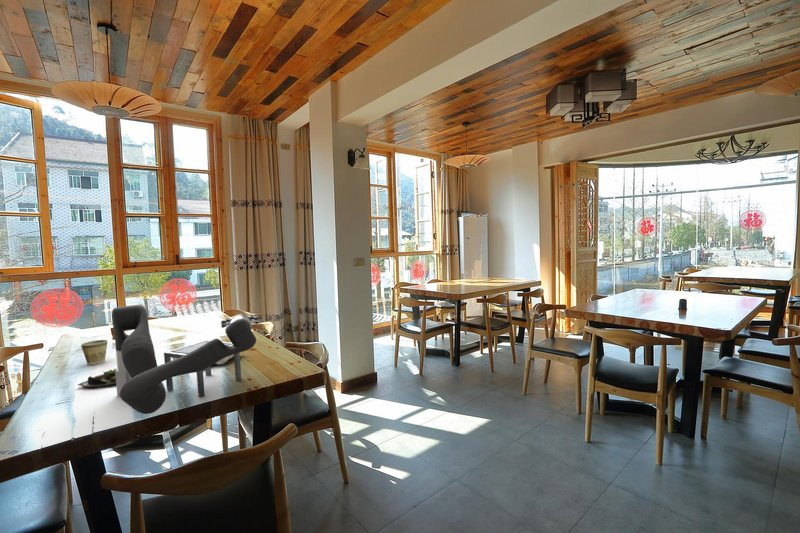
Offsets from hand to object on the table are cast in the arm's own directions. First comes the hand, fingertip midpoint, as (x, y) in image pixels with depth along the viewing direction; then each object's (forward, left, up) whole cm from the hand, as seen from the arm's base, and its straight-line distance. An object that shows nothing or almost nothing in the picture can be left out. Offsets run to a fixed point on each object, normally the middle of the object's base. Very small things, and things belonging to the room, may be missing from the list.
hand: (240, 318), depth 157 cm
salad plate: (-23, +51, -25) cm, 62 cm away
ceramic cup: (-8, +88, -25) cm, 92 cm away
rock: (+10, +28, -25) cm, 39 cm away
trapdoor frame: (-13, +7, -25) cm, 29 cm away
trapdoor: (-13, +8, -11) cm, 18 cm away
